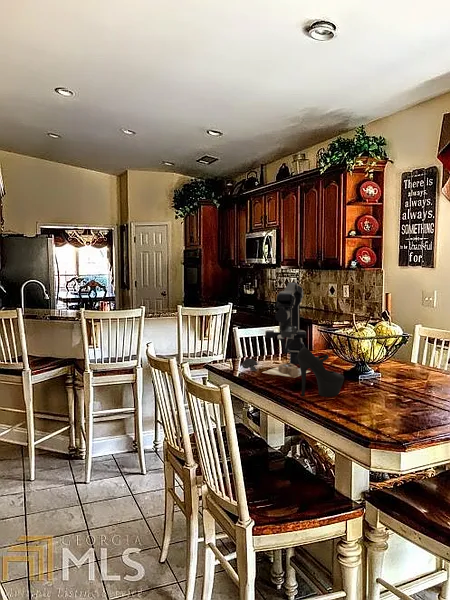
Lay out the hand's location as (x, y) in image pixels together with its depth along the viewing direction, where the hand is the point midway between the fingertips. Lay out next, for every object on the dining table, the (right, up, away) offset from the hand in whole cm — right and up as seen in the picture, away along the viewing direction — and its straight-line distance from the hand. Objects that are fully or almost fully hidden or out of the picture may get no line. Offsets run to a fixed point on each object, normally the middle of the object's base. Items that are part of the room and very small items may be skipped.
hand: (285, 352), depth 234 cm
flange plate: (+3, -10, +3) cm, 11 cm away
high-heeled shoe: (+10, -14, -30) cm, 35 cm away
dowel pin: (+6, -10, -1) cm, 12 cm away
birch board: (+1, -11, +6) cm, 13 cm away
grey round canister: (+1, -11, +6) cm, 13 cm away
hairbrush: (-15, -11, +18) cm, 26 cm away
